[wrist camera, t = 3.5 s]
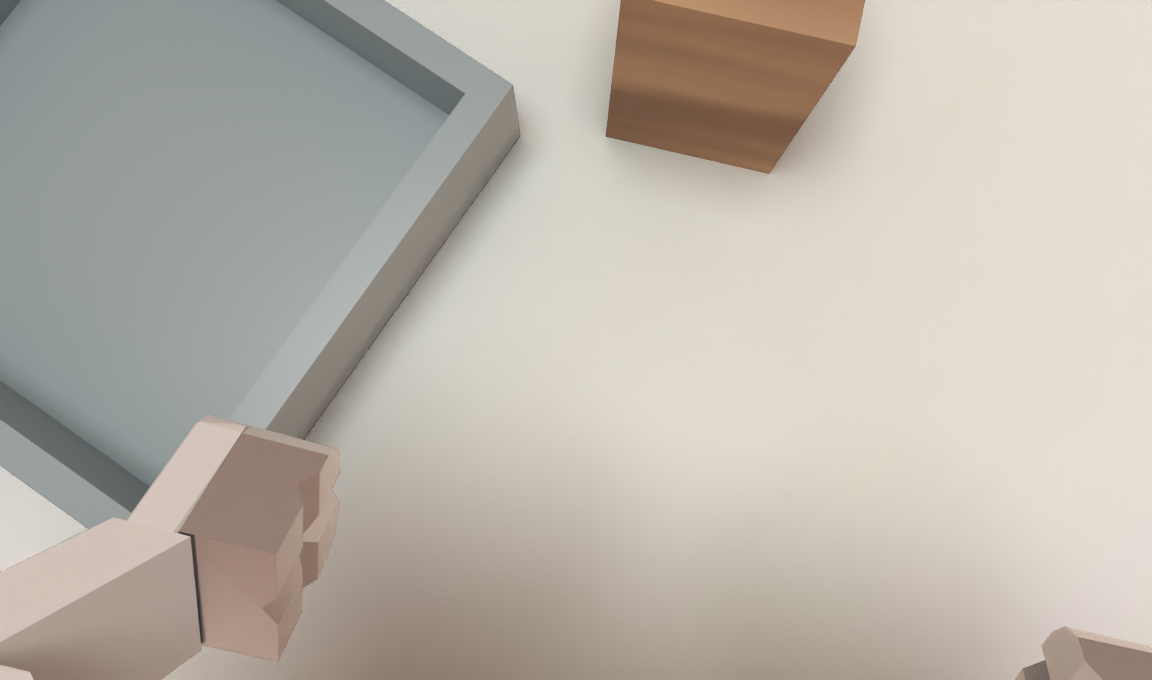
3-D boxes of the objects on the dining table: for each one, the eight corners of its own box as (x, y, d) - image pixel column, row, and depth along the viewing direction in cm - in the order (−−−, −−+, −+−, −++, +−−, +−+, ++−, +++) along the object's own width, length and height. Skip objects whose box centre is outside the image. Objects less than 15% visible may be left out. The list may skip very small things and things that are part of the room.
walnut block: (769, 173, 26) (856, 44, 18) (605, 136, 26) (621, -10, 18) (802, 19, 27) (901, -174, 19) (642, -18, 27) (673, -224, 19)
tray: (215, 563, 25) (158, 578, 21) (-201, 266, 26) (-322, 234, 22) (520, 135, 26) (513, 84, 23) (117, -131, 27) (51, -219, 24)
